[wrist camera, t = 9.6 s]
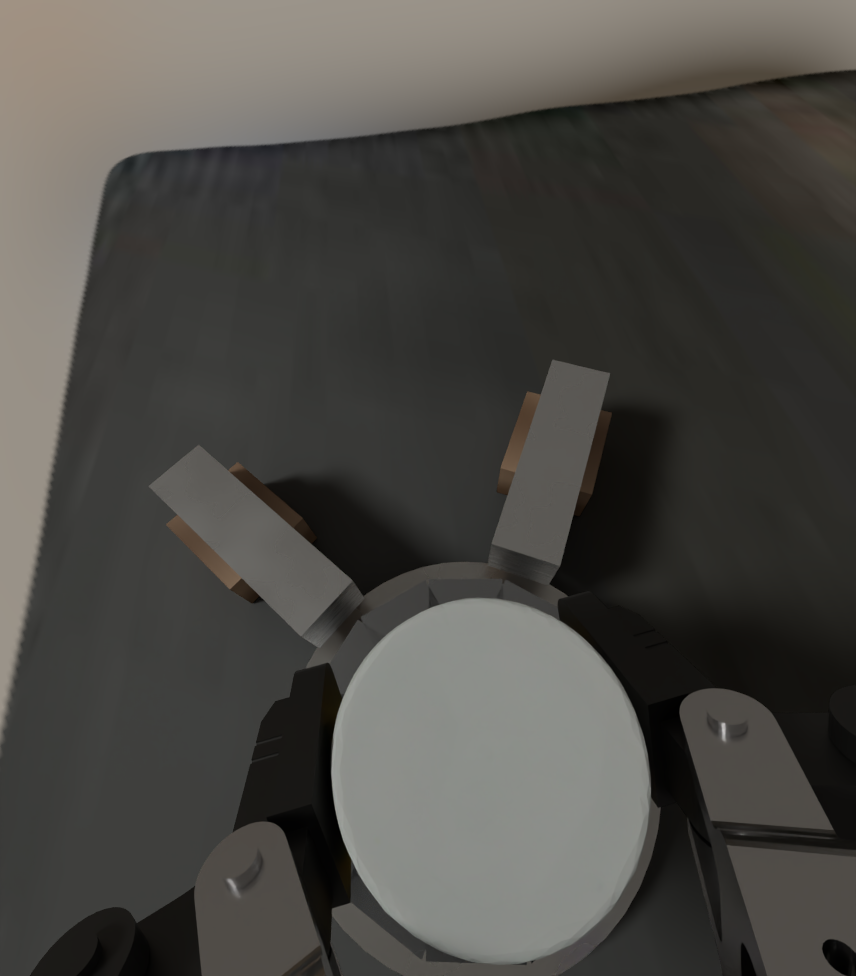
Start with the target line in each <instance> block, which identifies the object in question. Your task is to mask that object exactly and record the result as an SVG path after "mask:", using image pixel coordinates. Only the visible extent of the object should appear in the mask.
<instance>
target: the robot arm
mask: <svg viewBox="0 0 856 976" xmlns="http://www.w3.org/2000/svg"><path fill="white" fill-rule="evenodd" d="M558 613H559V619H560V621H561V622H563V623H565V624H566V625H568V626H569V627H570V628H572V629H573V630H574V631H576V632H577V633H578V634H579V635H581V636H582V637H583V638H584V639H585V640H586V641H587V642H588V643H589V644H590V645H591V646H592V647H593V648H594V649H595V650H596V651H597V652H598V653H599V654H600V655H601V656H602V658H603V659H604V660H605V661H606V663H607V664H608V665H609V666H610V667H611V669H612V670H613V672H614V673H615V675H616V676H617V678H618V679H619V681H620V682H621V684H622V686H623V688H624V690H625V691H626V693H627V695H628V697H629V699H630V701H631V703H632V706H633V708H634V710H635V712H636V715H637V718H638V721H639V724H640V727H641V729H642V733H643V736H644V740H645V744H646V748H647V752H648V760H649V768H650V776H651V798H652V800H653V801H654V803H655V804H656V806H657V807H658V808H660V807H663V806H666V805H669V804H672V803H676V802H677V803H678V805H679V806H680V808H681V809H682V810H683V812H684V813H685V815H686V816H687V823H688V832H689V837H690V842H691V846H692V850H693V854H694V858H695V862H696V866H697V870H698V874H699V878H700V882H701V886H702V890H703V894H704V898H705V902H706V906H707V910H708V914H709V919H710V923H711V927H712V931H713V935H714V939H715V943H716V947H717V951H718V955H719V960H720V965H721V970H722V976H856V685H850V686H846V687H843V688H840V689H838V690H837V691H835V692H834V693H833V694H832V696H831V697H830V701H829V712H826V713H775V712H770V711H769V710H768V709H767V708H766V707H765V706H763V705H762V704H761V703H759V702H758V701H756V700H755V699H753V698H751V697H749V696H747V695H744V694H742V693H739V692H735V691H732V690H726V689H717V688H716V687H715V686H714V685H713V684H712V683H711V682H710V681H709V680H708V679H707V678H706V677H705V676H704V675H703V674H701V673H700V672H699V671H698V670H697V669H696V668H695V667H694V666H693V665H692V664H691V663H690V662H689V661H688V660H687V659H686V658H685V657H684V656H682V655H681V654H680V653H679V652H678V651H677V650H676V649H675V648H674V647H673V646H672V645H671V644H668V643H667V640H666V639H664V638H663V637H662V636H661V635H660V634H659V633H658V632H655V629H654V628H653V627H652V626H651V625H650V624H649V623H648V622H646V621H645V620H644V619H643V618H642V617H641V616H640V615H638V614H636V613H634V612H632V611H630V610H627V609H625V608H623V607H621V606H615V607H612V608H608V609H607V608H606V606H605V605H604V604H603V603H602V602H601V601H600V600H599V599H598V598H597V597H596V596H595V595H594V594H593V593H592V592H590V591H586V592H583V593H579V594H575V595H572V596H568V597H565V598H561V599H559V600H558ZM341 702H342V696H341V694H340V691H339V688H338V685H337V682H336V679H335V676H334V673H333V670H332V668H331V665H330V664H329V663H324V664H321V665H317V666H313V667H310V668H306V669H302V670H299V671H296V672H295V674H294V678H293V683H292V688H291V693H290V697H289V698H285V699H282V700H278V701H275V703H274V704H273V705H272V707H271V708H270V710H269V711H268V713H267V714H266V716H265V717H264V719H263V720H262V721H261V725H260V729H259V733H258V737H257V741H256V744H257V746H255V748H254V752H253V756H252V764H250V768H249V771H248V775H247V779H246V783H245V787H244V791H243V795H242V798H241V802H240V806H239V810H238V814H237V818H236V822H235V825H234V829H233V833H232V834H230V835H229V836H227V837H226V838H225V839H224V840H223V841H222V842H221V843H220V844H219V845H218V846H217V847H216V848H215V849H214V850H213V851H212V853H211V854H210V855H209V856H208V858H207V859H206V861H205V863H204V864H203V866H202V868H201V870H200V872H199V875H198V878H197V880H196V885H195V886H194V887H193V888H192V889H191V890H189V891H188V892H186V893H185V894H183V895H182V896H180V897H179V898H177V899H175V900H174V901H172V902H171V903H169V904H167V905H166V906H164V907H162V908H161V909H159V910H158V911H156V912H154V913H153V914H151V915H150V916H148V917H146V918H145V919H143V920H141V921H140V922H138V923H136V921H135V919H134V918H133V916H132V915H131V913H130V912H129V911H127V910H126V909H123V908H119V907H113V908H108V909H104V910H101V911H98V912H96V913H94V914H92V915H90V916H88V917H87V918H85V919H84V920H82V921H80V922H79V923H78V924H76V925H75V926H74V927H72V928H71V929H70V930H69V931H67V932H66V933H65V934H64V935H63V936H62V937H61V938H60V939H59V940H58V941H57V942H56V943H55V944H54V945H53V946H52V947H51V948H50V949H49V950H48V952H47V953H46V954H45V955H44V957H43V958H42V959H41V960H40V962H39V963H38V965H37V966H36V967H35V969H34V970H33V972H32V973H31V975H30V976H343V974H342V971H341V968H340V965H339V962H338V959H337V956H336V954H335V951H334V948H333V945H332V943H331V919H332V909H333V908H336V907H339V906H342V905H346V904H349V903H351V857H350V855H349V853H348V851H347V848H346V846H345V843H344V841H343V838H342V835H341V831H340V828H339V824H338V820H337V817H336V812H335V807H334V801H333V796H332V787H331V774H330V759H331V745H332V738H333V733H334V728H335V723H336V718H337V714H338V711H339V708H340V705H341Z"/></svg>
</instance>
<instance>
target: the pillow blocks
mask: <svg viewBox="0 0 856 976" xmlns="http://www.w3.org/2000/svg"><path fill="white" fill-rule="evenodd" d="M540 396H541V395H539V394H535V393H531V392H527V394H526V397H525V400H524V402H523V405H522V408H521V411H520V414H519V417H518V420H517V423H516V425H515V428H514V431H513V434H512V437H511V440H510V443H509V445H508V448H507V451H506V454H505V457H504V460H503V463H502V466H501V469H500V475H499V481H498V487H497V492H499V493H502V494H505V495H508V492H509V489H510V486H511V483H512V480H513V477H514V474H515V471H516V468H517V465H518V462H519V459H520V456H521V453H522V450H523V447H524V444H525V441H526V438H527V435H528V432H529V429H530V426H531V423H532V420H533V417H534V414H535V411H536V408H537V405H538V402H539V399H540ZM611 415H612V413H610V412H606V411H602V410H601V411H600V414H599V418H598V422H597V426H596V430H595V434H594V438H593V441H592V445H591V449H590V453H589V457H588V461H587V464H586V468H585V472H584V476H583V480H582V484H581V488H580V491H579V495H578V499H577V503H576V507H575V511H574V514H573V515H575V516H578V517H580V515H581V513H582V511H583V510H584V508H585V506H586V504H587V503H588V501H589V499H590V497H591V495H592V492H593V488H594V484H595V480H596V476H597V472H598V468H599V464H600V460H601V456H602V452H603V448H604V444H605V440H606V436H607V432H608V428H609V423H610V419H611ZM228 471H229V472H230V473H231V474H232V475H233V476H235V477H236V478H237V479H238V480H239V481H240V482H241V483H243V484H244V485H245V486H246V487H247V488H248V489H249V490H250V491H252V492H253V493H254V494H255V495H256V496H257V497H258V498H260V499H261V500H262V501H263V502H264V503H265V504H266V505H268V506H269V507H270V508H271V509H272V510H273V511H274V512H275V513H277V514H278V515H279V516H280V517H281V518H282V519H283V520H285V521H286V522H287V523H288V524H289V525H290V526H291V527H292V528H294V529H295V530H296V531H297V532H298V533H299V534H300V535H302V536H303V537H304V538H305V539H306V540H307V541H308V542H309V543H311V544H312V543H313V542H314V541H315V540H316V539H317V537H316V536H315V535H314V533H313V532H312V530H311V529H310V528H309V526H308V525H307V523H306V522H305V521H304V519H303V518H302V517H301V516H300V515H298V514H297V513H296V512H295V511H294V510H293V509H292V508H290V507H289V506H288V505H287V504H286V503H285V502H283V501H282V500H281V499H280V498H279V497H278V496H276V495H275V494H274V493H273V492H272V491H271V490H269V489H268V488H267V487H266V486H265V485H264V484H263V483H261V482H260V481H259V480H258V479H257V478H256V477H254V476H253V475H252V474H251V473H250V472H249V471H247V470H246V469H245V468H244V467H243V466H242V465H240V464H239V463H238V462H237V463H236V464H235V465H234V466H233V467H232V468H230V469H229V470H228ZM166 525H167V526H168V527H169V528H170V529H171V530H172V531H173V532H174V533H175V534H176V535H177V536H178V537H179V538H180V539H181V540H182V541H183V542H184V543H185V544H186V545H187V546H188V547H189V548H190V549H191V550H192V551H193V552H194V553H195V554H196V556H197V557H198V558H199V559H200V560H201V561H202V562H203V563H204V564H205V565H206V566H207V567H208V568H209V569H210V570H211V571H212V572H213V573H214V574H215V575H216V576H217V577H218V578H219V579H220V580H221V581H222V582H223V583H224V584H225V585H226V586H227V587H228V588H229V589H230V590H232V591H233V592H235V593H236V594H238V595H239V596H241V597H243V598H244V599H246V600H247V601H249V602H250V603H253V602H254V601H255V600H256V599H257V598H258V597H259V595H258V594H257V593H256V592H255V591H254V590H253V589H252V588H251V587H250V586H249V585H248V584H247V583H246V582H245V581H244V580H243V579H242V578H241V577H240V576H239V575H238V574H237V573H236V572H235V571H234V570H233V569H232V568H231V567H230V566H229V565H228V564H227V563H226V562H225V561H224V560H223V559H222V558H221V557H220V556H219V555H218V554H217V553H216V552H215V551H214V550H213V549H212V548H211V547H210V546H209V545H208V544H207V543H206V542H205V541H204V540H203V539H202V538H201V537H200V536H199V535H198V534H197V533H196V532H195V531H194V530H193V529H192V528H191V527H190V526H189V525H188V524H186V523H185V522H184V521H183V520H182V519H181V518H180V517H179V516H178V515H176V516H175V517H174V518H173V519H172V520H171V521H170V522H168V523H167V524H166Z"/></svg>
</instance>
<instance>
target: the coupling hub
mask: <svg viewBox="0 0 856 976" xmlns="http://www.w3.org/2000/svg"><path fill="white" fill-rule="evenodd" d="M363 597H364V598H365V599H364V600H363V601H362V602H361V603H360V604H359V605H358V606H357V608H356V609H355V610H354V611H353V612H352V613H351V614H350V615H349V616H348V618H347V619H346V620H345V621H344V622H343V623H342V624H341V625H340V626H339V628H338V629H337V630H336V631H335V632H334V633H333V634H332V635H331V636H330V638H329V639H328V640H327V641H326V642H325V643H324V644H323V645H322V646H321V648H318V647H317V649H316V651H315V652H314V654H313V656H312V657H311V659H310V661H309V663H308V664H307V667H306V668H310V667H313V666H317V665H321V664H324V663H329V664H330V665H331V668H332V670H333V673H334V676H335V679H336V682H337V685H338V688H339V691H340V694H341V696H342V699H343V697H344V695H345V692H346V690H347V688H348V686H349V684H350V682H351V680H352V678H353V676H354V674H355V672H356V671H357V669H358V668H359V666H360V665H361V663H362V662H363V660H364V659H365V657H366V656H367V655H368V654H369V652H370V651H371V650H372V649H373V648H374V647H375V646H376V645H377V644H378V643H379V642H380V641H381V640H382V639H383V638H384V637H385V636H386V635H387V634H388V633H389V632H391V631H392V630H393V629H394V628H396V627H397V626H399V625H400V624H402V623H403V622H405V621H406V620H408V619H410V618H411V617H413V616H415V615H417V614H419V613H420V612H422V611H425V610H427V609H429V608H431V607H434V606H437V605H440V604H444V603H447V602H451V601H455V600H460V599H465V598H495V599H502V600H508V601H514V602H517V603H521V604H524V605H527V606H531V607H533V608H535V609H538V610H540V611H543V612H545V613H547V614H549V615H551V616H553V617H554V618H556V619H558V620H560V619H559V613H558V600H559V599H561V598H565V597H568V596H567V595H566V594H565V593H563V592H561V591H560V590H558V589H556V588H555V587H553V586H551V585H550V584H549V585H548V586H547V585H544V584H541V583H538V582H535V581H532V580H529V579H526V578H523V577H520V576H517V575H514V574H511V573H508V572H506V571H503V570H500V569H497V568H494V567H491V566H488V563H479V562H451V563H441V564H436V565H431V566H426V567H421V568H418V569H415V570H412V571H409V572H406V573H403V574H401V575H399V576H397V577H395V578H393V579H391V580H389V581H387V582H385V583H383V584H381V585H380V586H378V587H377V588H375V589H373V590H372V591H370V592H369V593H367V594H366V595H364V596H363ZM660 809H661V807H660V808H658V807H657V806H656V804H655V803H654V801H653V800H652V798H651V810H650V820H649V825H648V829H647V834H646V838H645V843H644V848H643V851H642V854H641V857H640V860H639V863H638V866H637V869H636V871H635V873H634V875H633V877H632V879H631V881H630V883H629V885H628V887H627V888H626V890H625V892H624V894H623V895H622V897H621V898H620V899H619V901H618V902H617V904H616V905H615V906H614V908H613V909H612V910H611V911H610V912H609V913H608V915H607V916H606V917H605V918H604V919H603V920H602V921H601V922H600V923H599V925H598V926H597V927H595V928H594V929H593V930H592V931H591V932H589V933H588V934H587V935H586V936H585V937H583V938H581V939H579V940H578V941H576V942H575V943H573V944H572V945H570V946H569V947H567V948H565V949H563V950H561V951H559V952H556V953H554V954H551V955H549V956H546V957H544V958H542V959H538V960H534V961H530V962H525V963H521V964H505V965H494V964H484V963H475V962H471V961H467V960H464V959H460V958H457V957H454V956H451V955H449V954H446V953H444V952H441V951H439V950H437V949H435V948H434V947H432V946H430V945H428V944H426V943H425V942H423V941H421V940H420V939H418V938H416V937H414V936H413V935H412V934H411V933H410V932H408V931H407V930H406V929H405V928H404V927H403V926H401V925H400V924H399V923H398V922H397V921H395V920H394V919H393V918H392V917H391V916H390V915H388V914H387V913H386V912H385V911H384V910H383V908H382V907H381V906H380V904H379V903H378V902H377V900H376V899H375V898H374V896H373V895H372V894H371V892H370V891H369V889H368V888H367V887H366V885H365V884H364V882H363V881H362V879H361V877H360V876H359V874H358V872H357V870H356V868H355V866H354V864H353V861H352V859H351V903H349V904H346V905H342V906H339V907H336V908H333V909H332V916H333V917H334V918H335V920H336V921H337V922H338V924H339V925H340V926H341V928H342V929H343V930H344V931H345V932H346V933H347V934H348V935H349V936H350V937H351V938H352V939H353V940H354V941H355V942H356V943H357V944H358V945H360V946H361V947H362V948H363V949H364V950H365V951H366V952H367V953H369V954H370V955H372V956H373V957H374V958H376V959H377V960H379V961H380V962H381V963H383V964H384V965H385V966H387V967H388V968H390V969H392V970H394V971H396V972H398V973H400V974H402V975H404V976H557V975H559V974H561V973H562V972H564V971H565V970H567V969H568V968H570V967H572V966H573V965H575V964H576V963H578V962H579V961H581V960H582V959H584V958H585V957H586V956H587V955H588V954H589V953H590V952H591V951H592V950H594V949H595V948H596V947H597V946H598V945H599V944H600V943H601V942H602V941H603V940H604V939H605V938H606V937H607V936H608V935H609V934H610V932H611V931H612V930H613V928H614V927H615V926H616V925H617V923H618V922H619V921H620V919H621V918H622V917H623V916H624V914H625V913H626V911H627V909H628V908H629V906H630V904H631V902H632V900H633V899H634V897H635V895H636V893H637V892H638V890H639V888H640V886H641V883H642V881H643V878H644V876H645V873H646V870H647V868H648V865H649V863H650V860H651V857H652V853H653V849H654V845H655V841H656V836H657V832H658V827H659V818H660Z"/></svg>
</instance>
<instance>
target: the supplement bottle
mask: <svg viewBox="0 0 856 976" xmlns="http://www.w3.org/2000/svg"><path fill="white" fill-rule="evenodd" d="M330 774H331V787H332V796H333V801H334V807H335V812H336V817H337V820H338V824H339V828H340V831H341V835H342V838H343V841H344V843H345V846H346V848H347V851H348V853H349V855H350V857H351V859H352V861H353V864H354V866H355V868H356V870H357V872H358V874H359V876H360V877H361V879H362V881H363V882H364V884H365V885H366V887H367V888H368V889H369V891H370V892H371V894H372V895H373V896H374V898H375V899H376V900H377V902H378V903H379V904H380V906H381V907H382V908H383V910H384V911H385V912H386V913H387V914H388V915H390V916H391V917H392V918H393V919H394V920H395V921H397V922H398V923H399V924H400V925H401V926H403V927H404V928H405V929H406V930H407V931H408V932H410V933H411V934H412V935H413V936H414V937H416V938H418V939H420V940H421V941H423V942H425V943H426V944H428V945H430V946H432V947H434V948H435V949H437V950H439V951H441V952H444V953H446V954H449V955H451V956H454V957H457V958H460V959H464V960H467V961H471V962H475V963H484V964H494V965H505V964H521V963H525V962H530V961H534V960H538V959H542V958H544V957H546V956H549V955H551V954H554V953H556V952H559V951H561V950H563V949H565V948H567V947H569V946H570V945H572V944H573V943H575V942H576V941H578V940H579V939H581V938H583V937H585V936H586V935H587V934H588V933H589V932H591V931H592V930H593V929H594V928H595V927H597V926H598V925H599V923H600V922H601V921H602V920H603V919H604V918H605V917H606V916H607V915H608V913H609V912H610V911H611V910H612V909H613V908H614V906H615V905H616V904H617V902H618V901H619V899H620V898H621V897H622V895H623V894H624V892H625V890H626V888H627V887H628V885H629V883H630V881H631V879H632V877H633V875H634V873H635V871H636V869H637V866H638V863H639V860H640V857H641V854H642V851H643V848H644V843H645V838H646V834H647V829H648V825H649V820H650V810H651V776H650V768H649V760H648V752H647V748H646V744H645V740H644V736H643V733H642V729H641V727H640V724H639V721H638V718H637V715H636V712H635V710H634V708H633V706H632V703H631V701H630V699H629V697H628V695H627V693H626V691H625V690H624V688H623V686H622V684H621V682H620V681H619V679H618V678H617V676H616V675H615V673H614V672H613V670H612V669H611V667H610V666H609V665H608V664H607V663H606V661H605V660H604V659H603V658H602V656H601V655H600V654H599V653H598V652H597V651H596V650H595V649H594V648H593V647H592V646H591V645H590V644H589V643H588V642H587V641H586V640H585V639H584V638H583V637H582V636H581V635H579V634H578V633H577V632H576V631H574V630H573V629H572V628H570V627H569V626H568V625H566V624H565V623H563V622H561V621H560V620H558V619H556V618H554V617H553V616H551V615H549V614H547V613H545V612H543V611H540V610H538V609H535V608H533V607H531V606H527V605H524V604H521V603H517V602H514V601H508V600H502V599H495V598H465V599H460V600H455V601H451V602H447V603H444V604H440V605H437V606H434V607H431V608H429V609H427V610H425V611H422V612H420V613H419V614H417V615H415V616H413V617H411V618H410V619H408V620H406V621H405V622H403V623H402V624H400V625H399V626H397V627H396V628H394V629H393V630H392V631H391V632H389V633H388V634H387V635H386V636H385V637H384V638H383V639H382V640H381V641H380V642H379V643H378V644H377V645H376V646H375V647H374V648H373V649H372V650H371V651H370V652H369V654H368V655H367V656H366V657H365V659H364V660H363V662H362V663H361V665H360V666H359V668H358V669H357V671H356V672H355V674H354V676H353V678H352V680H351V682H350V684H349V686H348V688H347V690H346V692H345V695H344V697H343V699H342V702H341V705H340V708H339V711H338V714H337V718H336V723H335V728H334V733H333V738H332V745H331V759H330Z"/></svg>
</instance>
